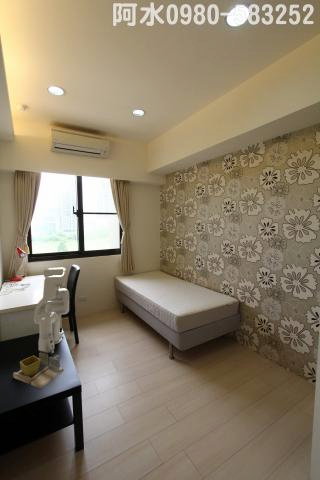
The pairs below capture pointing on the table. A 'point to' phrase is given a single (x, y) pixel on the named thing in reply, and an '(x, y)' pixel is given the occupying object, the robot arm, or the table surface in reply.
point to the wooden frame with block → (43, 361)
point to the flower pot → (30, 366)
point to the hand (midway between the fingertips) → (46, 360)
